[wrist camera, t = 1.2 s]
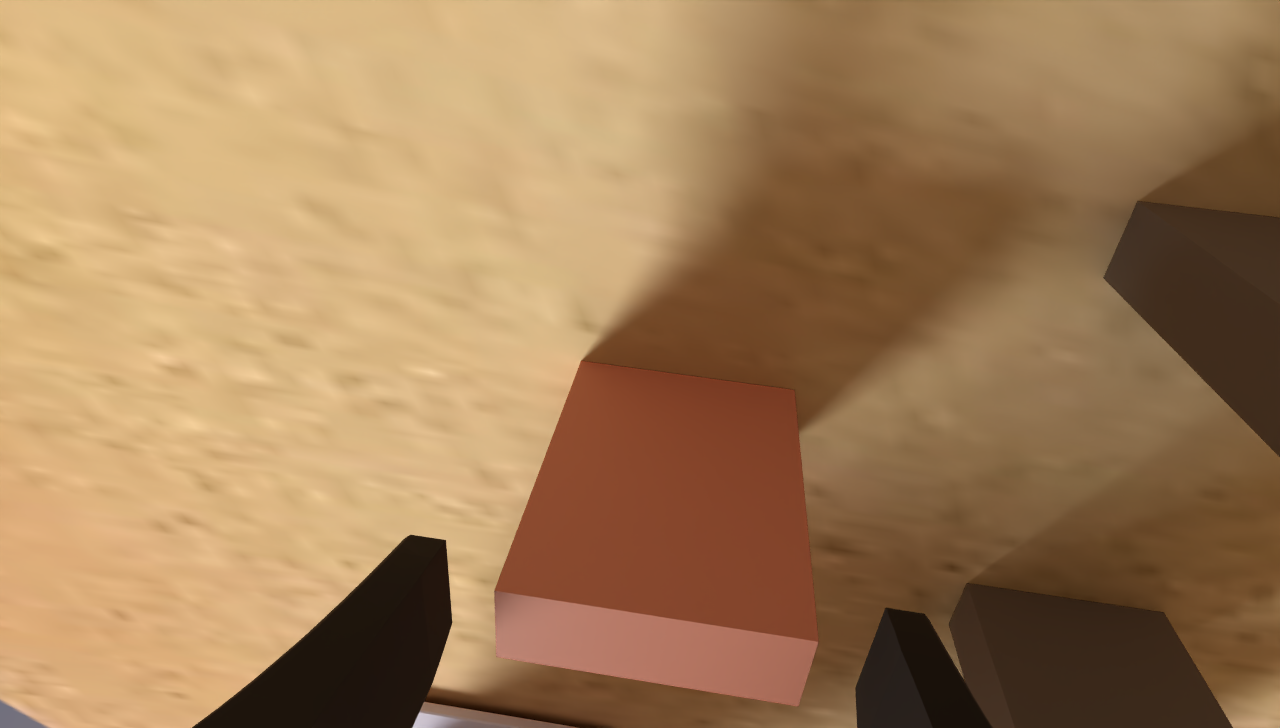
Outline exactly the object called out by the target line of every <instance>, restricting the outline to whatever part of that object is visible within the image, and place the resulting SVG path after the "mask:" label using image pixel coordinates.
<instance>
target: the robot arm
mask: <svg viewBox="0 0 1280 728" xmlns="http://www.w3.org/2000/svg"><path fill="white" fill-rule="evenodd" d="M451 625H452V613H451V600H450V587H449V574H448V562H447V549H446V540H441V539H435V538H428V537H422V536H415V535H409V536H408V537H406V538H405V539H404V540H403V541H402V542H401V543H400V544H399V545H398V546H397V547H396V548H395V549H394V550H393V551H392V552H391V553H390V554H389V555H388V556H387V557H386V558H385V559H384V560H383V561H382V562H381V563H380V564H379V565H378V566H377V567H376V568H375V569H374V570H373V571H372V572H371V573H370V574H369V575H368V576H367V577H366V578H365V579H364V580H363V581H362V582H361V583H360V584H359V585H358V586H357V587H356V588H355V589H354V590H353V591H352V592H351V593H350V594H349V595H348V596H347V597H346V598H345V599H344V600H343V601H342V602H341V603H340V604H339V605H338V606H336V607H335V608H334V609H333V610H332V611H331V612H330V613H329V614H328V615H327V616H326V617H325V618H324V619H323V620H321V621H320V622H319V623H318V624H317V625H316V626H315V627H314V628H313V629H312V630H311V631H310V632H309V633H308V634H306V635H305V636H304V637H303V638H302V639H301V640H300V641H299V642H297V643H296V644H295V645H294V646H293V647H292V648H290V649H289V650H288V651H287V652H286V653H285V654H283V655H282V656H281V657H280V658H279V659H278V660H276V661H275V662H274V663H273V664H272V665H271V666H269V667H268V668H267V669H266V670H265V671H264V672H262V673H261V674H260V675H259V676H258V677H257V678H255V679H254V680H253V681H252V682H251V683H249V684H248V685H247V686H246V687H244V688H243V689H242V690H241V691H239V692H238V693H237V694H236V695H234V696H233V697H232V698H230V699H229V700H228V701H227V702H225V703H224V704H223V705H221V706H220V707H219V708H218V709H216V710H215V711H214V712H212V713H211V714H210V715H208V716H207V717H206V718H204V719H203V720H202V721H200V722H199V723H198V724H196V725H195V726H194V727H192V728H578V727H573V726H567V725H561V724H555V723H549V722H543V721H537V720H531V719H525V718H519V717H513V716H507V715H501V714H495V713H489V712H483V711H477V710H471V709H465V708H459V707H453V706H447V705H441V704H435V703H429V702H424V701H425V699H426V696H427V694H428V692H429V690H430V687H431V685H432V683H433V680H434V677H435V674H436V671H437V668H438V665H439V662H440V659H441V656H442V653H443V650H444V647H445V644H446V641H447V638H448V635H449V631H450V628H451ZM856 710H857V728H993V727H992V726H991V724H990V722H989V721H988V719H987V718H986V716H985V715H984V713H983V711H982V710H981V708H980V706H979V705H978V703H977V701H976V700H975V698H974V697H973V695H972V693H971V691H970V690H969V688H968V686H967V685H966V683H965V681H964V680H963V678H962V676H961V675H960V673H959V671H958V670H957V668H956V666H955V664H954V663H953V661H952V659H951V657H950V656H949V654H948V652H947V650H946V649H945V647H944V645H943V643H942V642H941V640H940V638H939V636H938V635H937V633H936V631H935V629H934V628H933V626H932V624H931V622H930V620H929V619H928V618H927V616H926V615H925V614H922V613H915V612H909V611H902V610H896V609H889V608H885V611H884V614H883V616H882V619H881V622H880V624H879V627H878V630H877V632H876V635H875V637H874V640H873V643H872V645H871V648H870V651H869V653H868V656H867V659H866V661H865V664H864V667H863V669H862V672H861V675H860V677H859V680H858V683H857V685H856Z"/></svg>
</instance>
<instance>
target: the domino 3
mask: <svg viewBox="0 0 1280 728" xmlns="http://www.w3.org/2000/svg"><path fill="white" fill-rule="evenodd" d="M1104 279H1105V280H1106V281H1107V282H1108V283H1109V284H1110V285H1111V286H1112V287H1113V288H1114V289H1115V290H1116V291H1117V292H1118V293H1119V294H1120V295H1121V296H1122V297H1123V299H1124V300H1125V301H1126V302H1127V303H1128V304H1129V305H1130V306H1131V307H1132V308H1133V309H1134V310H1135V311H1136V312H1137V313H1138V314H1139V315H1140V316H1141V317H1142V318H1143V319H1144V320H1145V321H1146V322H1147V323H1148V324H1149V325H1150V326H1151V327H1152V328H1153V329H1154V330H1155V331H1156V332H1157V333H1158V334H1159V335H1160V336H1161V337H1162V338H1163V339H1164V340H1165V341H1166V342H1167V343H1168V344H1169V345H1170V346H1171V347H1172V348H1173V349H1174V350H1175V351H1176V352H1177V353H1178V354H1179V355H1180V356H1181V357H1182V358H1183V359H1184V360H1185V361H1186V362H1187V363H1188V364H1189V365H1190V366H1191V367H1192V368H1193V370H1194V371H1195V372H1196V373H1197V374H1198V375H1199V376H1200V377H1201V378H1202V379H1203V380H1204V381H1205V382H1206V383H1207V384H1208V385H1209V386H1210V387H1211V388H1212V389H1213V390H1214V391H1215V392H1216V393H1217V394H1218V395H1219V396H1220V397H1221V398H1222V399H1223V400H1224V401H1225V402H1226V403H1227V404H1228V405H1229V406H1230V407H1231V408H1232V409H1233V410H1234V411H1235V412H1236V413H1237V414H1238V415H1239V416H1240V417H1241V418H1242V419H1243V420H1244V421H1245V422H1246V423H1247V424H1248V425H1249V426H1250V427H1251V428H1252V429H1253V430H1254V431H1255V432H1256V433H1257V434H1258V435H1259V436H1260V437H1261V438H1262V439H1263V441H1264V442H1265V443H1266V444H1267V445H1268V446H1269V447H1270V448H1271V449H1272V450H1273V451H1274V452H1275V453H1276V454H1277V455H1278V456H1279V457H1280V218H1277V217H1269V216H1260V215H1252V214H1243V213H1235V212H1226V211H1217V210H1209V209H1200V208H1192V207H1183V206H1175V205H1166V204H1157V203H1149V202H1140V201H1138V202H1137V204H1136V206H1135V208H1134V210H1133V213H1132V215H1131V217H1130V219H1129V222H1128V224H1127V226H1126V228H1125V231H1124V233H1123V235H1122V237H1121V240H1120V242H1119V244H1118V246H1117V249H1116V251H1115V253H1114V255H1113V257H1112V260H1111V262H1110V264H1109V266H1108V269H1107V271H1106V273H1105V275H1104Z"/></svg>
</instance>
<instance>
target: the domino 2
mask: <svg viewBox="0 0 1280 728" xmlns="http://www.w3.org/2000/svg"><path fill="white" fill-rule="evenodd" d="M949 627H950V630H951V633H952V637H953V640H954V644H955V647H956V651H957V654H958V658H959V661H960V665H961V668H962V672H963V675H964V679H965V682H966V685H967V686H968V688H969V690H970V691H971V693H972V695H973V697H974V698H975V700H976V701H977V703H978V705H979V706H980V708H981V710H982V711H983V713H984V715H985V716H986V718H987V719H988V721H989V722H990V724H991V726H992V727H993V728H1233V727H1232V725H1231V724H1230V722H1229V720H1228V719H1227V717H1226V715H1225V714H1224V712H1223V710H1222V709H1221V707H1220V705H1219V704H1218V702H1217V700H1216V699H1215V697H1214V695H1213V694H1212V692H1211V690H1210V689H1209V687H1208V685H1207V684H1206V682H1205V680H1204V679H1203V677H1202V675H1201V674H1200V672H1199V670H1198V669H1197V667H1196V665H1195V664H1194V662H1193V660H1192V659H1191V657H1190V655H1189V654H1188V652H1187V650H1186V649H1185V647H1184V645H1183V644H1182V642H1181V640H1180V639H1179V637H1178V635H1177V634H1176V632H1175V630H1174V629H1173V627H1172V625H1171V624H1170V622H1169V620H1168V619H1167V617H1166V615H1165V614H1164V613H1163V612H1157V611H1150V610H1143V609H1137V608H1130V607H1123V606H1117V605H1110V604H1103V603H1097V602H1090V601H1083V600H1076V599H1070V598H1063V597H1056V596H1050V595H1043V594H1036V593H1029V592H1023V591H1016V590H1009V589H1002V588H996V587H989V586H982V585H975V584H969V583H967V584H966V586H965V589H964V591H963V593H962V595H961V598H960V600H959V602H958V604H957V607H956V609H955V611H954V613H953V616H952V618H951V620H950V622H949Z"/></svg>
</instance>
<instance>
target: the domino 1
mask: <svg viewBox="0 0 1280 728" xmlns="http://www.w3.org/2000/svg"><path fill="white" fill-rule="evenodd" d="M494 593H495V626H496V657H499V658H505V659H511V660H517V661H523V662H529V663H536V664H542V665H548V666H554V667H560V668H566V669H572V670H578V671H585V672H591V673H597V674H603V675H609V676H615V677H621V678H627V679H633V680H640V681H646V682H652V683H658V684H664V685H670V686H676V687H682V688H688V689H695V690H701V691H707V692H713V693H719V694H725V695H731V696H737V697H743V698H750V699H756V700H762V701H768V702H774V703H780V704H786V705H792V706H799V703H800V699H801V696H802V693H803V690H804V687H805V684H806V680H807V677H808V674H809V671H810V668H811V665H812V662H813V658H814V655H815V652H816V649H817V646H818V643H819V639H818V629H817V618H816V608H815V598H814V587H813V577H812V566H811V556H810V546H809V535H808V525H807V514H806V504H805V493H804V483H803V473H802V462H801V452H800V441H799V431H798V421H797V410H796V400H795V390H791V389H784V388H777V387H769V386H762V385H755V384H747V383H740V382H733V381H725V380H718V379H711V378H703V377H696V376H689V375H681V374H674V373H667V372H659V371H652V370H645V369H637V368H630V367H623V366H615V365H608V364H601V363H593V362H586V361H581V363H580V365H579V368H578V371H577V373H576V376H575V379H574V381H573V384H572V386H571V389H570V392H569V394H568V397H567V400H566V402H565V405H564V408H563V410H562V413H561V416H560V418H559V421H558V424H557V426H556V429H555V432H554V434H553V437H552V439H551V442H550V445H549V447H548V450H547V453H546V455H545V458H544V461H543V463H542V466H541V469H540V471H539V474H538V477H537V479H536V482H535V485H534V487H533V490H532V492H531V495H530V498H529V500H528V503H527V506H526V508H525V511H524V514H523V516H522V519H521V522H520V524H519V527H518V530H517V532H516V535H515V538H514V540H513V543H512V545H511V548H510V551H509V553H508V556H507V559H506V561H505V564H504V567H503V569H502V572H501V575H500V577H499V580H498V583H497V585H496V588H495V591H494Z"/></svg>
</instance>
